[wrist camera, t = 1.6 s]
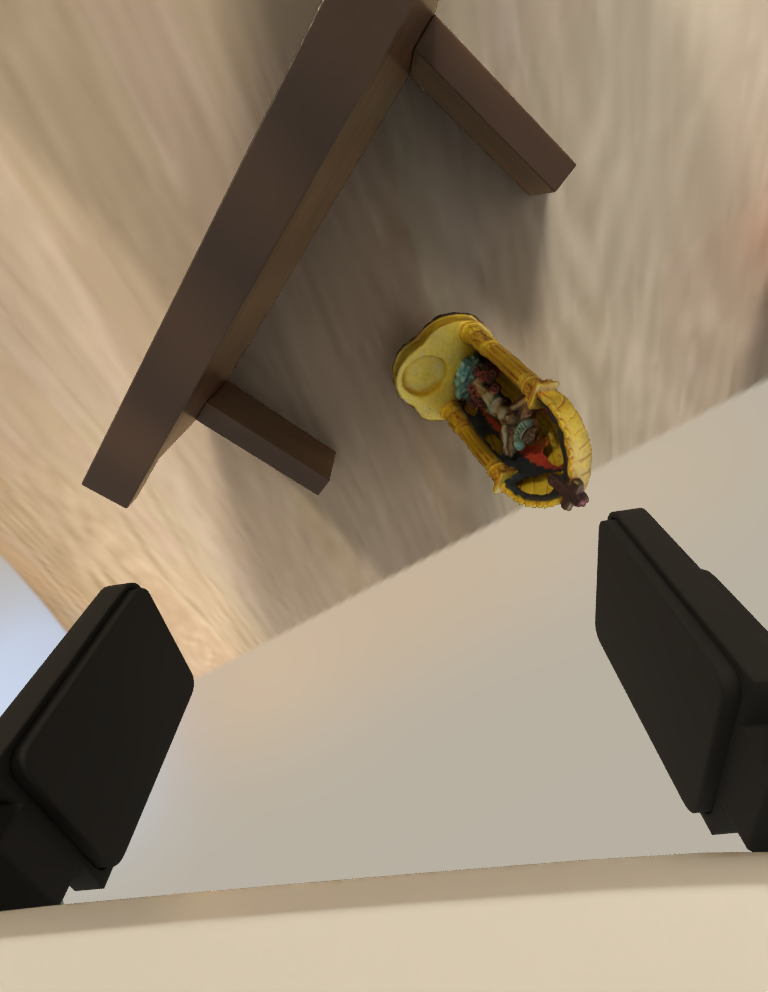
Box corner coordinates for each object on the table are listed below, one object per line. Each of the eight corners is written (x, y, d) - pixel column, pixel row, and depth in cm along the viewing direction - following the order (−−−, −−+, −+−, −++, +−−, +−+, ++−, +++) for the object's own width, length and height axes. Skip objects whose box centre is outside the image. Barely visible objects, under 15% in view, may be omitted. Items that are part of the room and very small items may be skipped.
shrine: (558, 361, 36) (657, 440, 23) (497, 450, 40) (552, 561, 27) (425, 285, 34) (451, 325, 20) (372, 387, 37) (366, 476, 24)
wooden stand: (409, -3, 26) (434, -228, 13) (561, 157, 30) (701, 106, 17) (188, 391, 37) (80, 484, 24) (318, 474, 41) (286, 595, 28)
